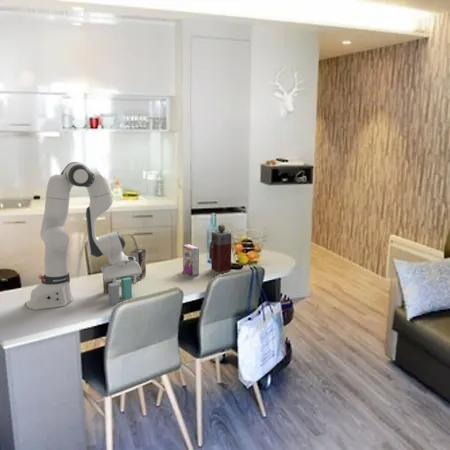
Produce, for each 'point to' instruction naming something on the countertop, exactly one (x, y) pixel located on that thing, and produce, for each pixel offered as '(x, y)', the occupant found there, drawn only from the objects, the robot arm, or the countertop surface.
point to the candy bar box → (191, 259)
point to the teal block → (126, 287)
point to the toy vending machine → (220, 250)
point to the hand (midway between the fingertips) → (126, 285)
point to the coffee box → (140, 261)
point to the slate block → (113, 293)
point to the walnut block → (106, 286)
